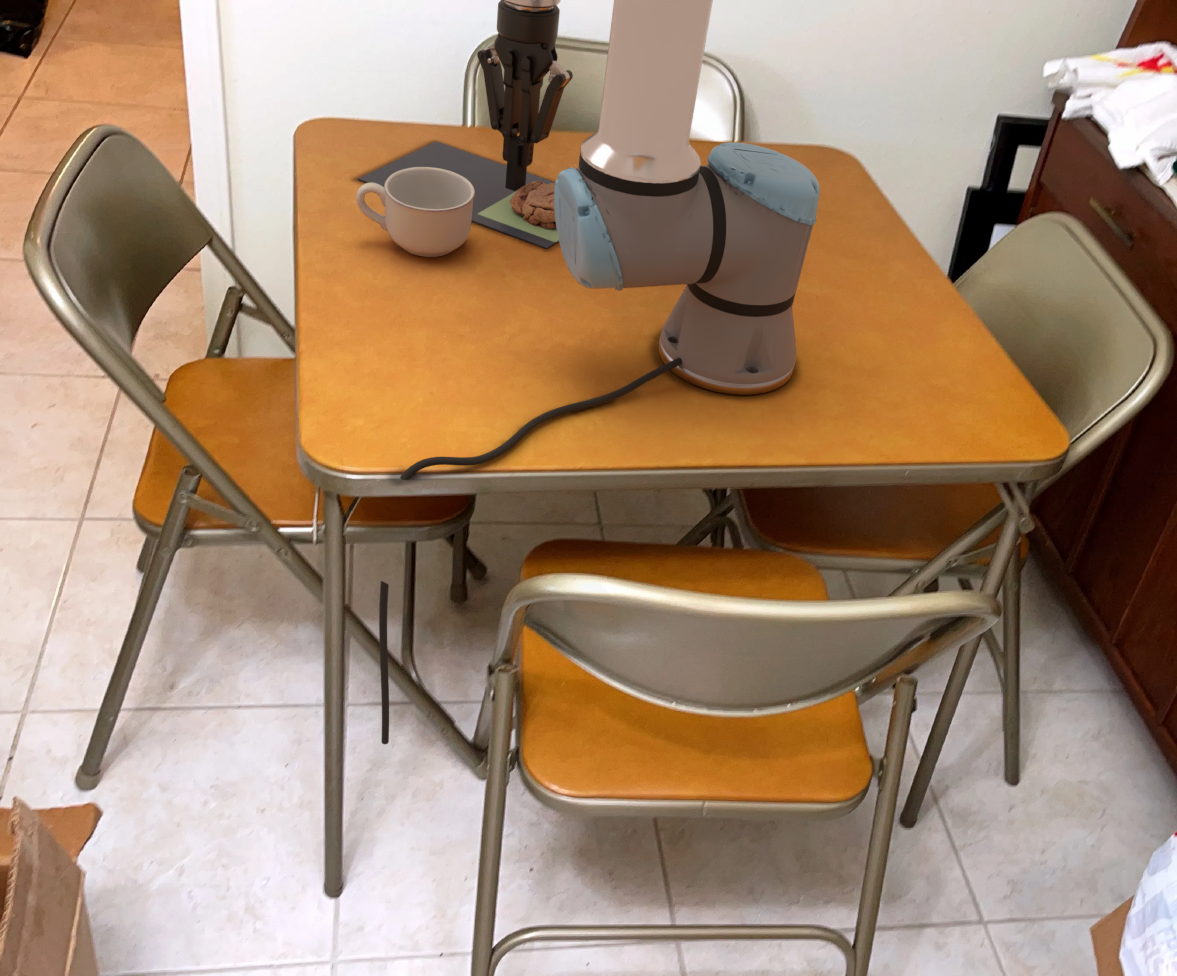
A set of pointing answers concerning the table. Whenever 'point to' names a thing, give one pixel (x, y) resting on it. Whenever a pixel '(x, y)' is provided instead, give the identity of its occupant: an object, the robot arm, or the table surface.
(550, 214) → the cookie
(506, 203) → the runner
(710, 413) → the table surface
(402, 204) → the teacup
